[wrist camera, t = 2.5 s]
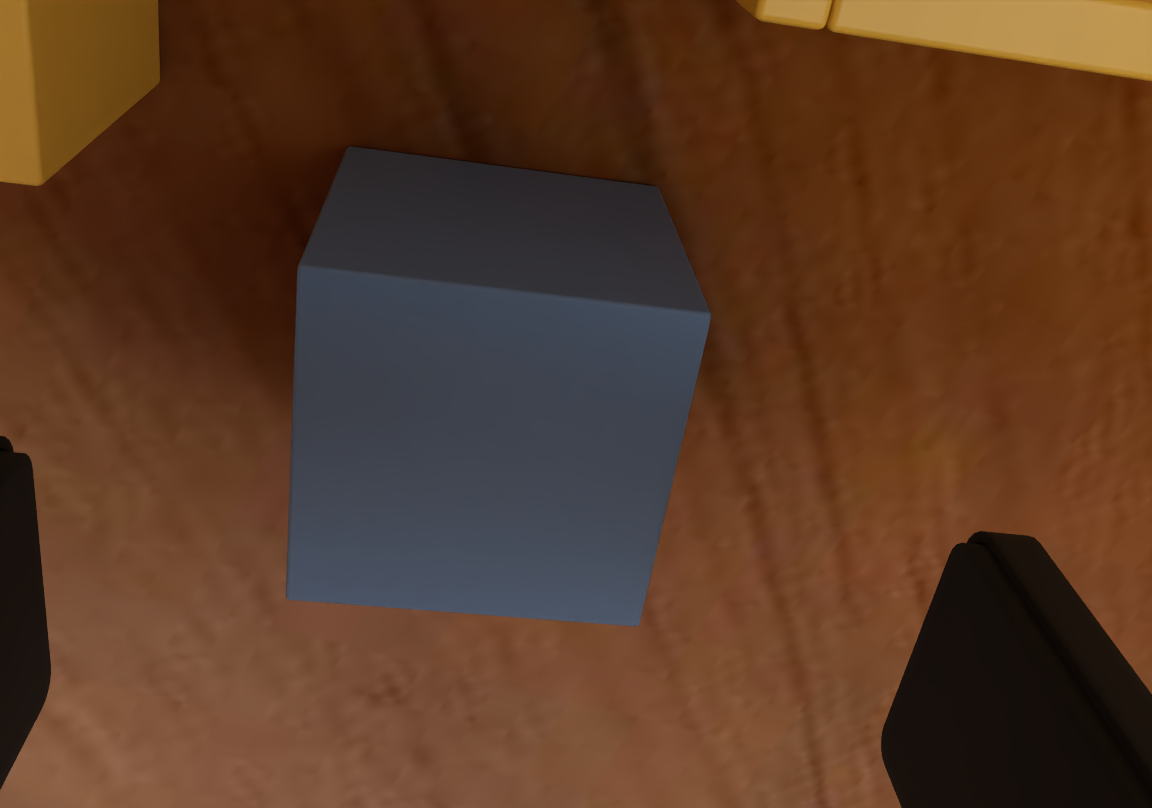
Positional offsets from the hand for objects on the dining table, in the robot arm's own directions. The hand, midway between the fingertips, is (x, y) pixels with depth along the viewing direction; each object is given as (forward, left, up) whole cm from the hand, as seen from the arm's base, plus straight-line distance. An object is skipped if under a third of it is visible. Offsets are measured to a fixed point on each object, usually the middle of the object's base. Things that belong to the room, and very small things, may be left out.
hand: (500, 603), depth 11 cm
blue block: (0, 0, -7) cm, 7 cm away
